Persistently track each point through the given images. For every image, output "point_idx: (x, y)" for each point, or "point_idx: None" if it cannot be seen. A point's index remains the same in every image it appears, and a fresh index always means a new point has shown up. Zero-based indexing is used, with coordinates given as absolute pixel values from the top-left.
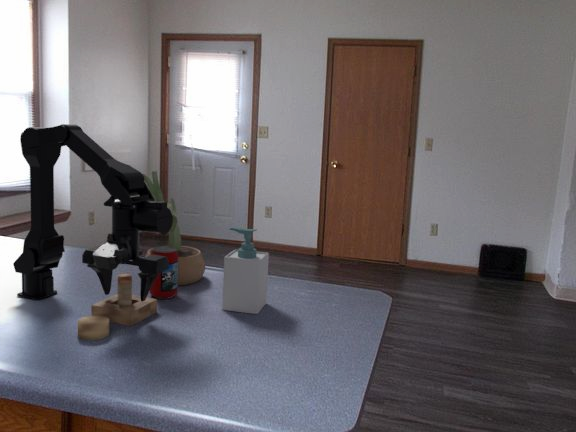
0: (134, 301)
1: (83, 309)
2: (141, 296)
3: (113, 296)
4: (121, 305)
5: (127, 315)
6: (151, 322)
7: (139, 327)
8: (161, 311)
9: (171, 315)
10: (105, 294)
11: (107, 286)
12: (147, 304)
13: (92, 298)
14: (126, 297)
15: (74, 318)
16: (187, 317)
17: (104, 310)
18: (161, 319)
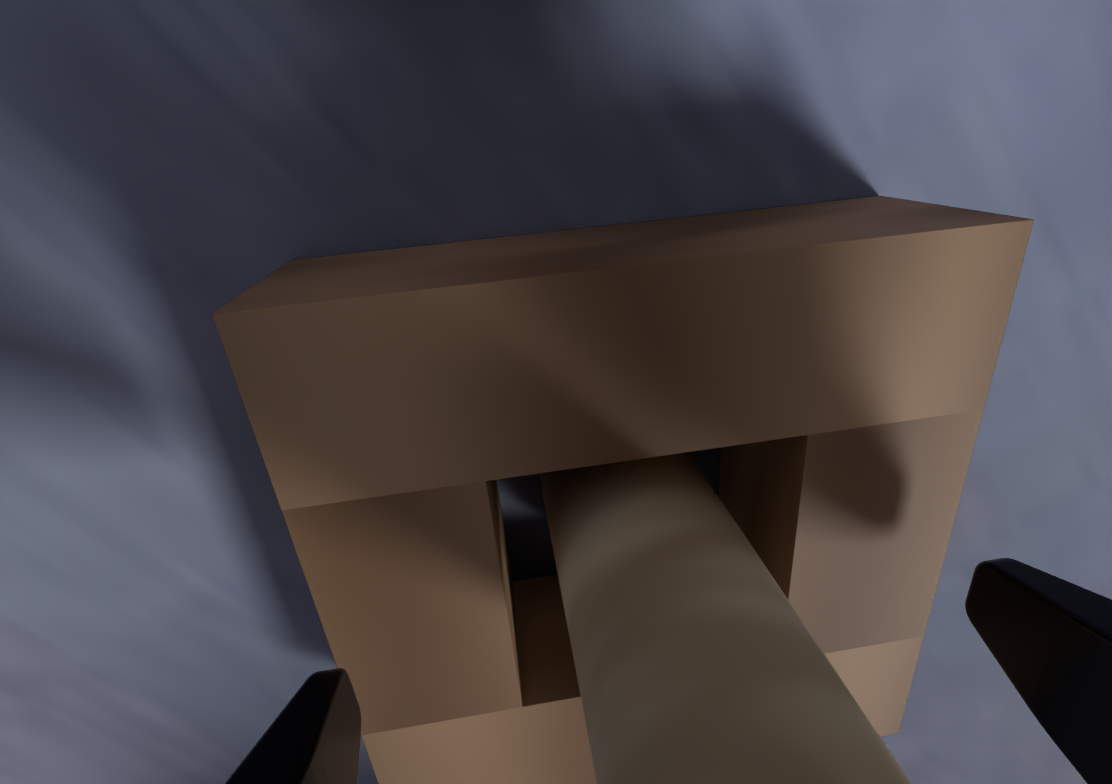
0: None
1: (1081, 361)
2: (285, 745)
3: (900, 629)
4: (633, 490)
5: (314, 288)
6: (211, 483)
7: (171, 287)
8: None
9: (229, 705)
10: (1003, 559)
11: (1106, 693)
12: None
13: (1108, 594)
14: (599, 620)
15: (1069, 73)
16: (65, 750)
17: (753, 236)
18: (208, 594)
